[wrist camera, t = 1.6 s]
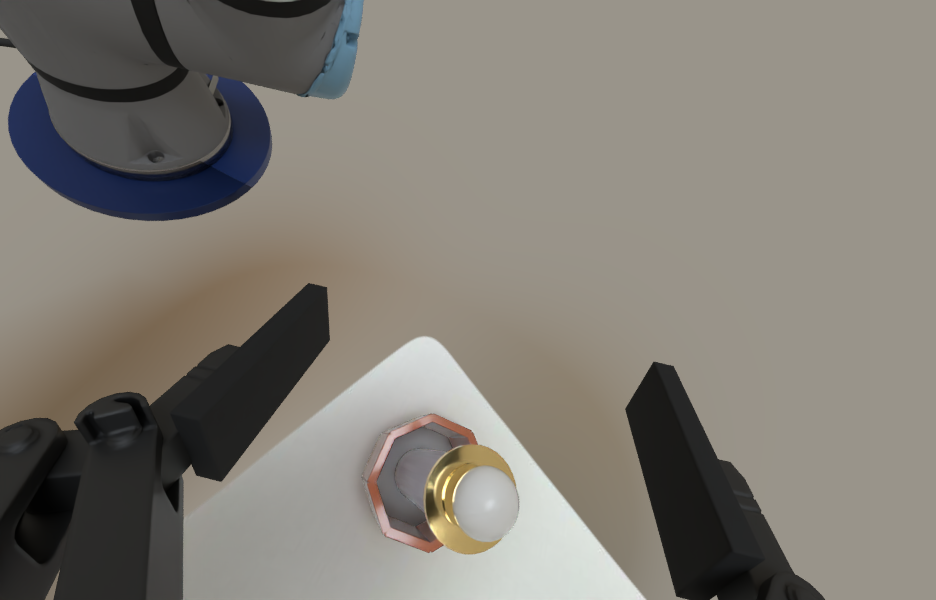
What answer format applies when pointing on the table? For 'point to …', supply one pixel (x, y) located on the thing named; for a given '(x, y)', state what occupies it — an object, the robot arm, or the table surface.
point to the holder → (388, 525)
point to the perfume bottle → (461, 494)
